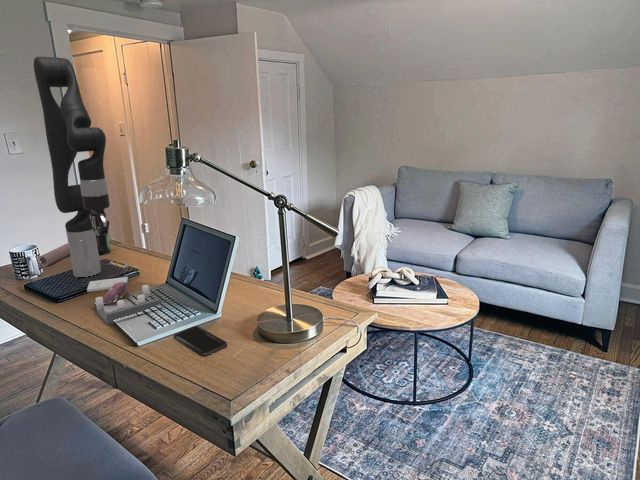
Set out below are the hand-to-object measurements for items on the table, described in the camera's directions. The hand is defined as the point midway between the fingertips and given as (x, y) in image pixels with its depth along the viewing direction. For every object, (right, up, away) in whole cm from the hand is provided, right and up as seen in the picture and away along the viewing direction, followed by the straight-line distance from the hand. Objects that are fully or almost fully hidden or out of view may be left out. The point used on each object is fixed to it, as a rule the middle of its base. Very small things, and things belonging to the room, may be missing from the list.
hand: (102, 245), depth 148 cm
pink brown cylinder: (-37, -7, +39) cm, 54 cm away
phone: (+39, -26, -27) cm, 53 cm away
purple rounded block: (+4, -18, 0) cm, 18 cm away
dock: (+12, -20, -8) cm, 25 cm away
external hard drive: (-4, -15, +12) cm, 19 cm away
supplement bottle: (-23, -4, +47) cm, 52 cm away
